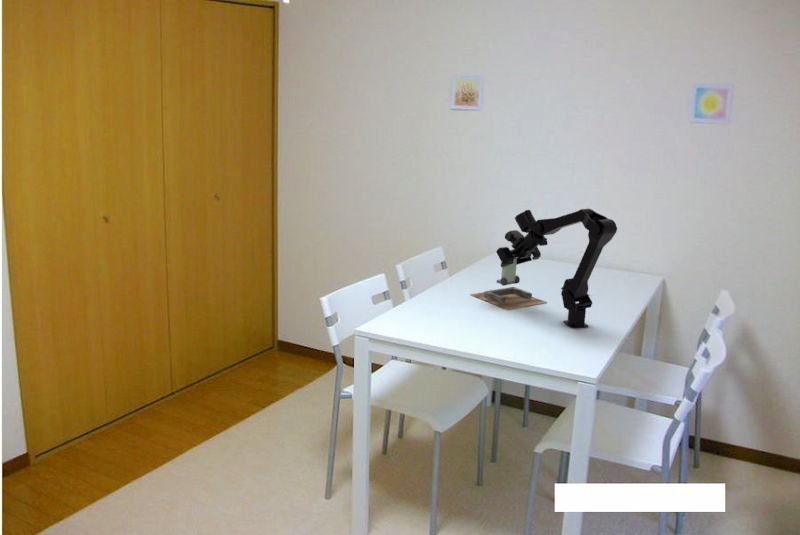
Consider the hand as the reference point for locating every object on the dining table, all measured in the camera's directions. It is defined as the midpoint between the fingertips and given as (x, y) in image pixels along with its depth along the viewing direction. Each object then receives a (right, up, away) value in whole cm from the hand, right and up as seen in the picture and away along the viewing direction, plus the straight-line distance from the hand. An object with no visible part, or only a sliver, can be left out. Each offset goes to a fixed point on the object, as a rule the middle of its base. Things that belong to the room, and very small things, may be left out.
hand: (506, 265), depth 262 cm
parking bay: (+2, -13, +3) cm, 14 cm away
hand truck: (+1, -7, +1) cm, 7 cm away
